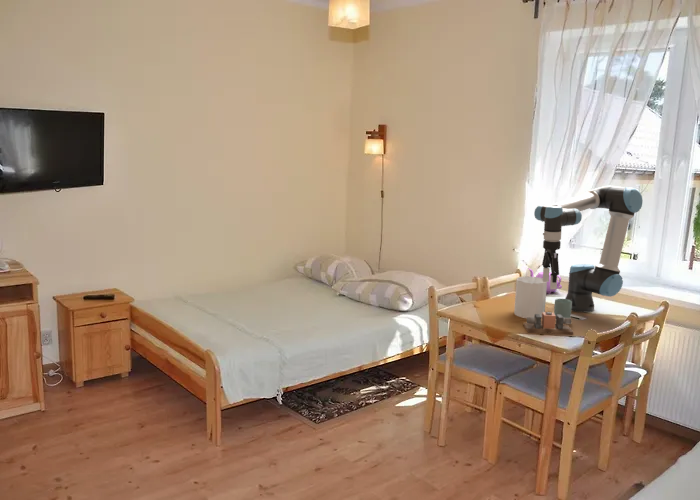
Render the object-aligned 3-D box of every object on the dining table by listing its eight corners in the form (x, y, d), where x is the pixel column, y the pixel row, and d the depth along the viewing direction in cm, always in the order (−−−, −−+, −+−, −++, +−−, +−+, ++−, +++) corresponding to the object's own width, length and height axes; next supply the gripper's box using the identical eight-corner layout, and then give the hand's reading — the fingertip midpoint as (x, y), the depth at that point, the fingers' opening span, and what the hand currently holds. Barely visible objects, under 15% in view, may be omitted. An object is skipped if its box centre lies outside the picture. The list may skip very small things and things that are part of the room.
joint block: (541, 324, 285) (542, 311, 284) (552, 325, 285) (553, 311, 283) (543, 328, 280) (544, 314, 279) (554, 328, 280) (555, 314, 278)
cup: (550, 318, 300) (552, 298, 298) (566, 318, 301) (567, 298, 299) (557, 323, 292) (559, 303, 290) (573, 323, 293) (574, 302, 291)
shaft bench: (566, 326, 287) (568, 312, 286) (573, 334, 276) (574, 320, 275) (523, 324, 289) (524, 311, 288) (527, 332, 278) (528, 318, 277)
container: (517, 309, 315) (520, 275, 312) (546, 313, 309) (549, 278, 306) (511, 316, 302) (514, 281, 299) (541, 320, 296) (544, 284, 293)
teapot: (522, 291, 351) (523, 269, 349) (530, 286, 363) (532, 265, 360) (557, 296, 340) (559, 274, 337) (565, 291, 351) (566, 270, 349)
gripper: (537, 235, 292) (534, 278, 296) (550, 245, 267) (548, 292, 272) (553, 235, 291) (550, 278, 296) (568, 245, 267) (565, 292, 271)
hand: (549, 285), depth 284 cm, fingers open, 13 cm apart
